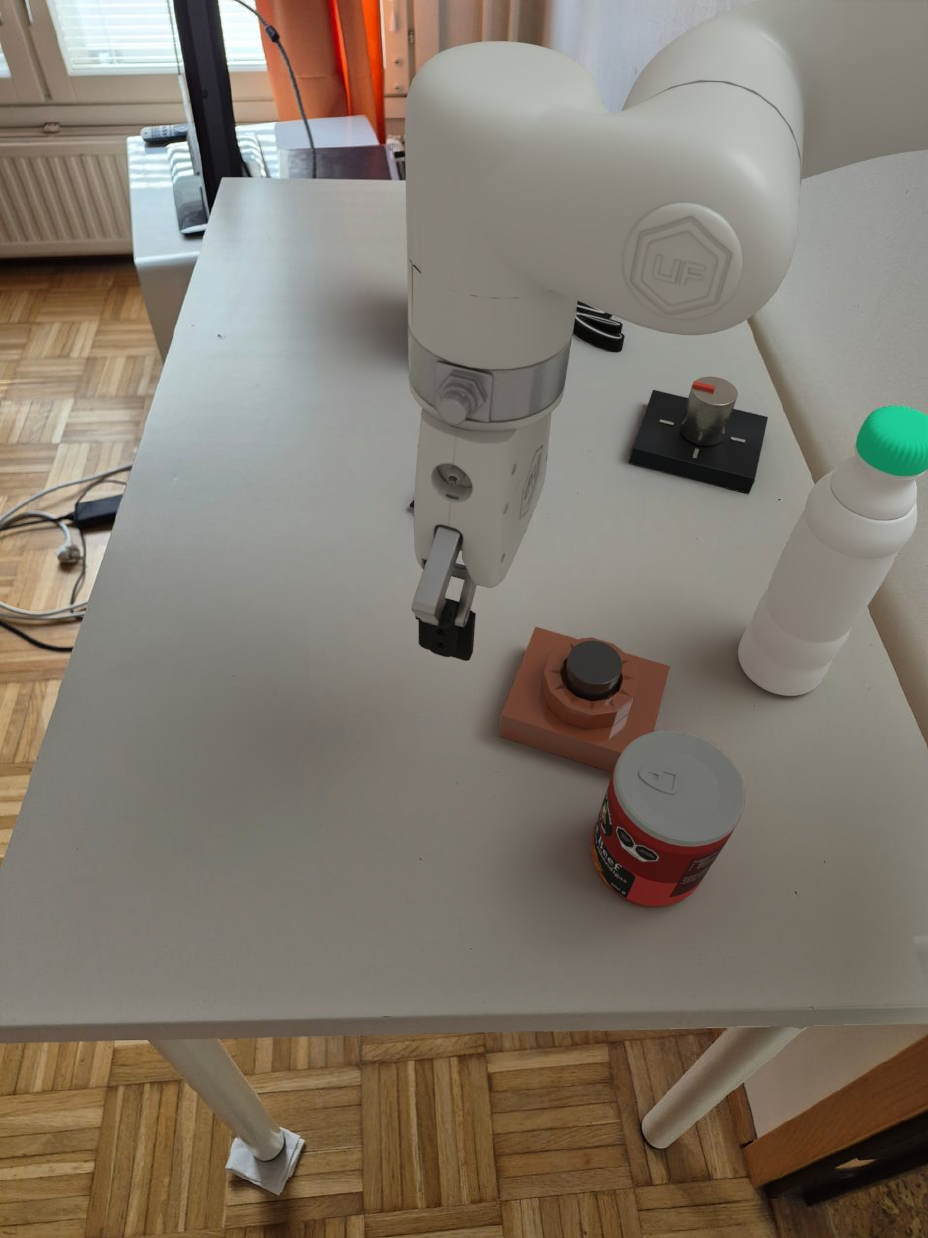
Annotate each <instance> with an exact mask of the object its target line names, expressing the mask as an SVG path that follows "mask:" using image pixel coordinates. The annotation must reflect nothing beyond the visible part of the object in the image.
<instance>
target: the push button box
mask: <svg viewBox="0 0 928 1238" xmlns="http://www.w3.org/2000/svg"><path fill="white" fill-rule="evenodd" d="M584 641H600V642H603V643H606V644H608V645H609V646H611V647H612V648H614V649H615V650H616V651H617V653H618V654H619V656H620V658H621V661H622V671H621V674H620V677H619V681H618V684H617V687H616V689H615V690H614V692H613V693H612V694H611V695H609V696H608V697H606V698H603V699H599V700H589V699H585V698H582V697H580V696H578V695H576V694H575V693H573V692H572V691H571V690H570V689H569V687H568V686H567V684H566V681H565V677H564V673H565V668H566V663H567V659H568V655H569V652H570V651H571V649H572V648H573V647H574V646H576V645H577V644H579V643H581V642H584ZM670 668H671V666H670V665H668V664H664V663H661V662H657V661H654V660H652V659H647V658H644V657H640V656H637V655H635V654H630V653H627V652H624V651H623V650H622V649H621V648H619V647H618V646H617V645H616V644H614V643H612V642H609V641H605V640H601V639H598V638H595V637H581V638H576V637H572V636H568V635H566V634H563V633H558V632H556V631H552V630H549V629H546V628H543V627H539V626H535V627H534V629H533V632H532V634H531V636H530V639H529V642H528V644H527V647H526V649H525V653H524V655H523V657H522V660H521V662H520V665H519V668H518V670H517V673H516V676H515V678H514V681H513V684H512V686H511V688H510V692H509V694H508V697H507V699H506V702H505V704H504V707H503V710H502V713H501V714H500V715H501V716H500V722H499V730H498V737H501V738H503V739H507V740H511V741H513V742H516V743H518V744H519V743H520V744H522V745H525V746H529V747H532V748H535V749H538V750H541V751H544V752H547V753H551V754H554V755H557V756H561V757H563V758H566V759H570V760H572V761H576V762H578V763H581V764H585V765H589V766H591V767H594V768H598V769H601V770H604V771H607V772H611V773H613V771H614V768H615V766H616V763H617V761H618V759H619V757H620V756H621V754H622V753H623V751H624V750H625V748H626V747H627V746H628V745H629V744H630V743H631V742H633V741H634V740H635V739H637V738H639V737H641V736H642V735H645V734H648V733H651V732H655V728H656V724H657V721H658V716H659V712H660V708H661V704H662V701H663V696H664V692H665V688H666V684H667V679H668V676H669V672H670Z"/></svg>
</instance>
